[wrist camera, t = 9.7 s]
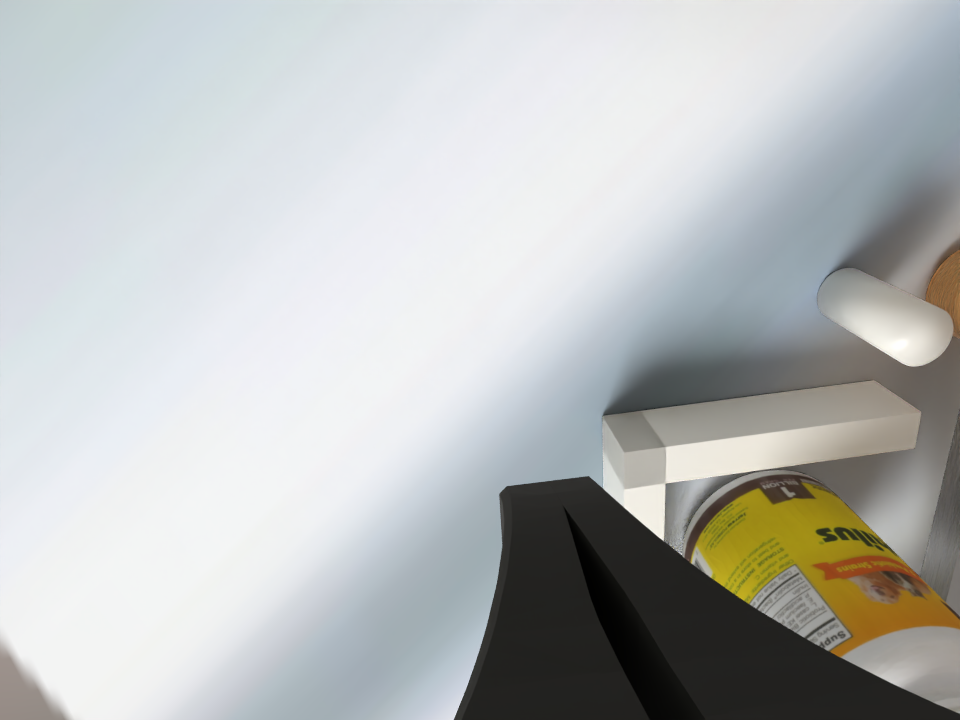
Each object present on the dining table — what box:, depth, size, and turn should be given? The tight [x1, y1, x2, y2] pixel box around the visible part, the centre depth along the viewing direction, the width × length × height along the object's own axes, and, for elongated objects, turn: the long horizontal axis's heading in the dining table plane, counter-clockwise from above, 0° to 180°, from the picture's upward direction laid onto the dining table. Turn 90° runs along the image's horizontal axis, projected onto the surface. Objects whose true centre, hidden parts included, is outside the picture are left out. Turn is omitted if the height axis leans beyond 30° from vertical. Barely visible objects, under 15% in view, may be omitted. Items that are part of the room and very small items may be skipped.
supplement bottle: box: [682, 470, 960, 714], centre depth 20 cm, size 6×6×10 cm
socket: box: [602, 380, 922, 541], centre depth 24 cm, size 10×9×2 cm
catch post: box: [817, 268, 953, 366], centre depth 20 cm, size 2×2×4 cm
